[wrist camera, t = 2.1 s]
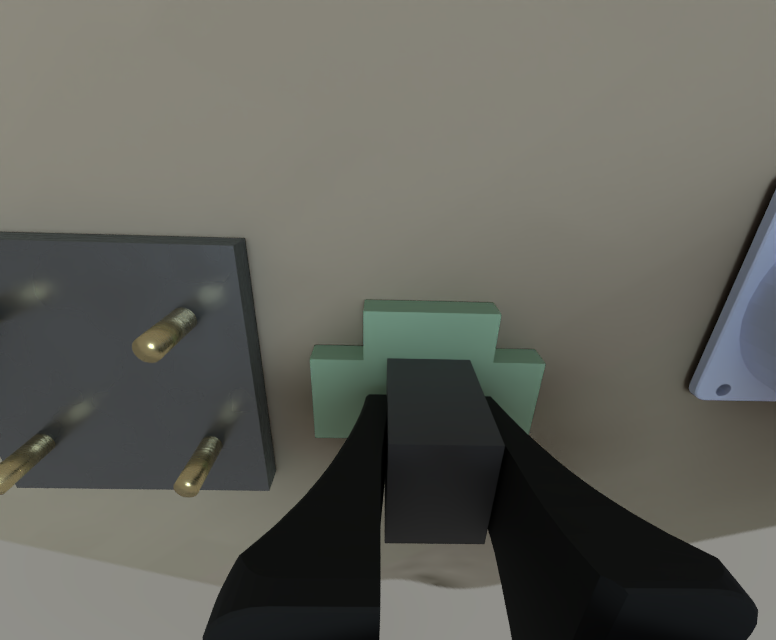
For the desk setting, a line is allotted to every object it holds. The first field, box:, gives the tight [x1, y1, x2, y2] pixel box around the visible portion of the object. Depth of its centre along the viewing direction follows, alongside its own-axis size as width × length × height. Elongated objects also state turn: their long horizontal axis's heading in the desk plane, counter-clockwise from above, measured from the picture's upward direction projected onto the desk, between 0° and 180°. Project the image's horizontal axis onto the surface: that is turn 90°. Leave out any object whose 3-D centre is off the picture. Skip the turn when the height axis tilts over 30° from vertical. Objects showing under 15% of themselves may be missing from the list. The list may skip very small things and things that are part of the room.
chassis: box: [0, 232, 276, 497], centre depth 12 cm, size 10×10×3 cm
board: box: [310, 300, 545, 544], centre depth 12 cm, size 8×7×5 cm
